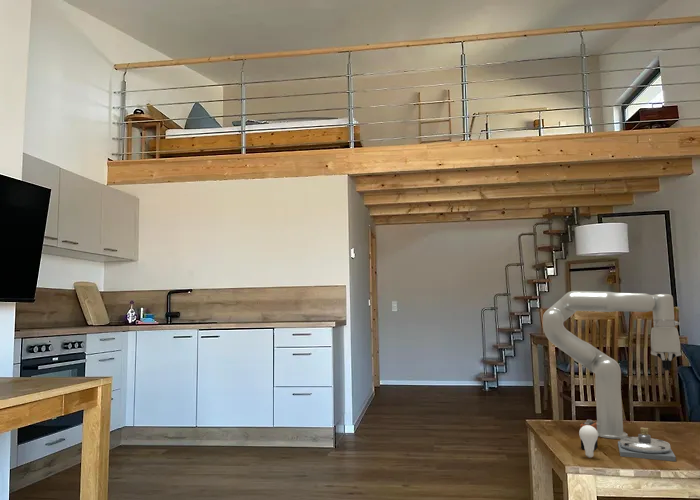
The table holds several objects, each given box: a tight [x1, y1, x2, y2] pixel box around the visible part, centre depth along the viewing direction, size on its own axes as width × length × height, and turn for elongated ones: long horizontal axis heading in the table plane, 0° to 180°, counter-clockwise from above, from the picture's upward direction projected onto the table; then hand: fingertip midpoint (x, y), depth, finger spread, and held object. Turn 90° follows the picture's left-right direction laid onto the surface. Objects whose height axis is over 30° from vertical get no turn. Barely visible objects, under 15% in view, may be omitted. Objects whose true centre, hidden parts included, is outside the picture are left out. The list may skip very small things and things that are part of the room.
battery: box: [579, 419, 599, 451], centre depth 204 cm, size 4×7×10 cm, turn 142°
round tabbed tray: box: [619, 427, 672, 453], centre depth 198 cm, size 16×16×6 cm
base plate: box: [617, 440, 677, 462], centre depth 198 cm, size 17×17×2 cm
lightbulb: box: [578, 425, 599, 459], centre depth 192 cm, size 6×6×11 cm
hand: (667, 370), depth 220 cm, fingers closed
